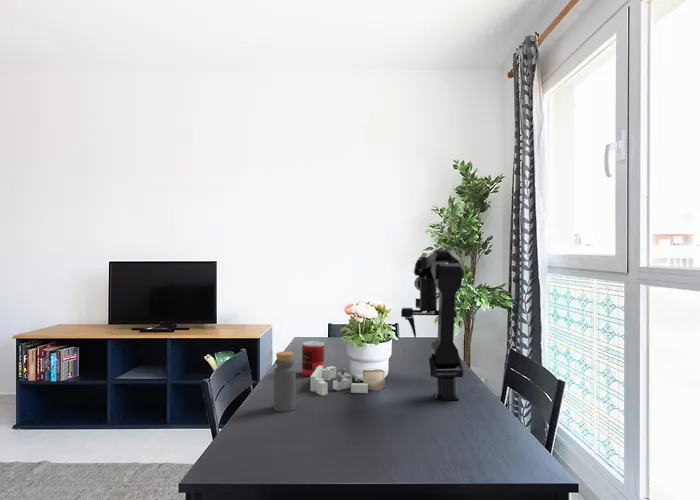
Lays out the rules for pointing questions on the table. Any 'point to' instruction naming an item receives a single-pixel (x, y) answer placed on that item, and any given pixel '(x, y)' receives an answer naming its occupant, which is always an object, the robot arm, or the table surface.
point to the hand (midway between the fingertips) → (428, 337)
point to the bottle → (284, 382)
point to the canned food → (312, 356)
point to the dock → (326, 375)
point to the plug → (374, 379)
